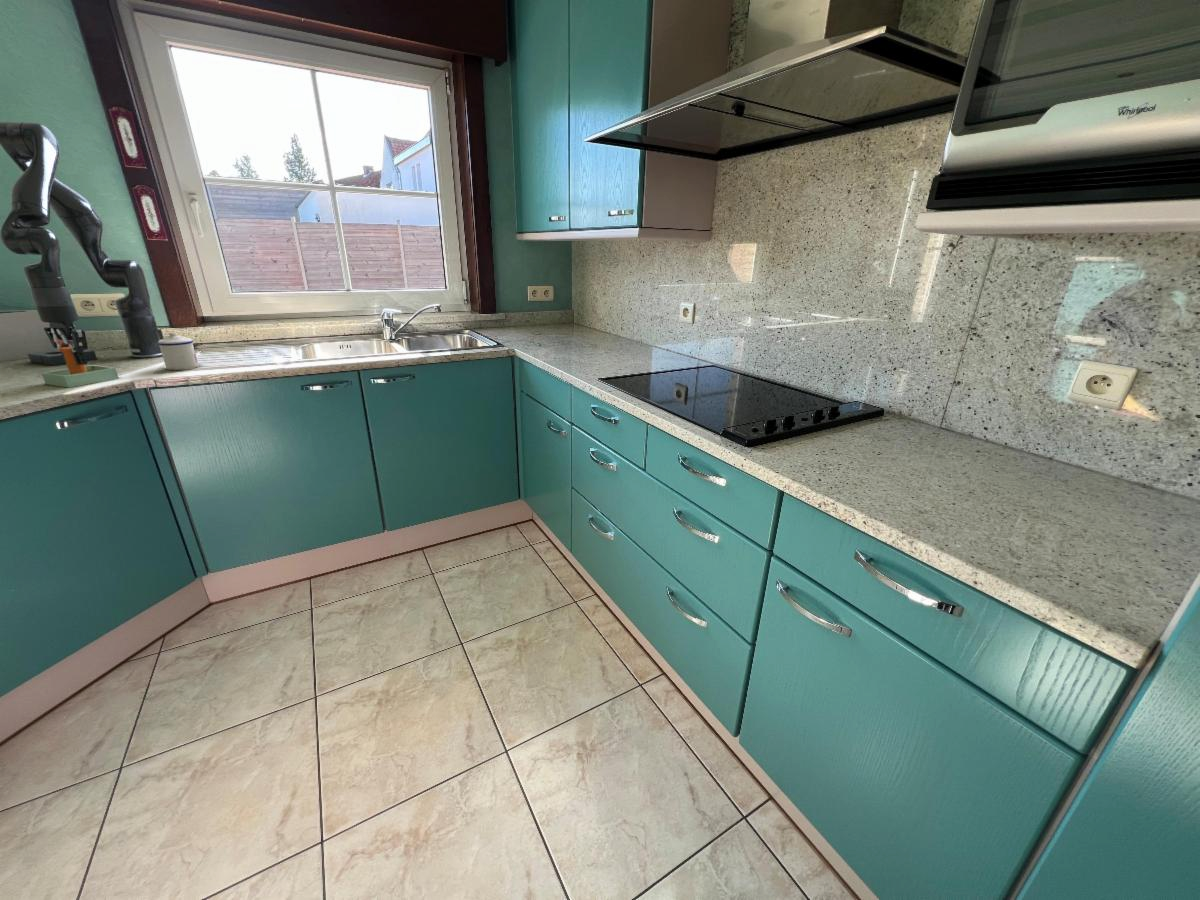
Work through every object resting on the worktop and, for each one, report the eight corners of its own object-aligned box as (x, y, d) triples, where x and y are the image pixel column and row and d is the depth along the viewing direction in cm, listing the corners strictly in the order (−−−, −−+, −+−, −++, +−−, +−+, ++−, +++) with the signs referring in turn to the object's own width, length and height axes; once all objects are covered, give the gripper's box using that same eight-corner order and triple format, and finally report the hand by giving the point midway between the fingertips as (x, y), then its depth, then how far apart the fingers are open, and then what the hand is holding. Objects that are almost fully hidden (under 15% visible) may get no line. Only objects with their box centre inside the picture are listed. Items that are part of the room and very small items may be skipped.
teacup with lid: (205, 366, 168) (196, 332, 164) (175, 371, 160) (164, 335, 156) (185, 362, 173) (175, 329, 168) (154, 367, 165) (143, 332, 161)
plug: (85, 375, 149) (75, 346, 146) (95, 376, 147) (85, 347, 144) (64, 378, 144) (54, 348, 141) (75, 379, 143) (65, 349, 140)
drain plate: (75, 356, 177) (72, 347, 176) (97, 359, 174) (94, 350, 173) (30, 362, 166) (26, 353, 165) (52, 365, 163) (49, 356, 162)
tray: (96, 375, 153) (93, 364, 152) (118, 378, 151) (115, 367, 149) (45, 384, 143) (41, 372, 141) (68, 387, 140) (64, 376, 139)
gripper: (87, 304, 140) (108, 363, 146) (55, 301, 144) (76, 359, 150) (53, 306, 133) (76, 368, 139) (20, 303, 137) (44, 364, 143)
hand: (76, 363), depth 145 cm, fingers closed on plug, 4 cm apart
